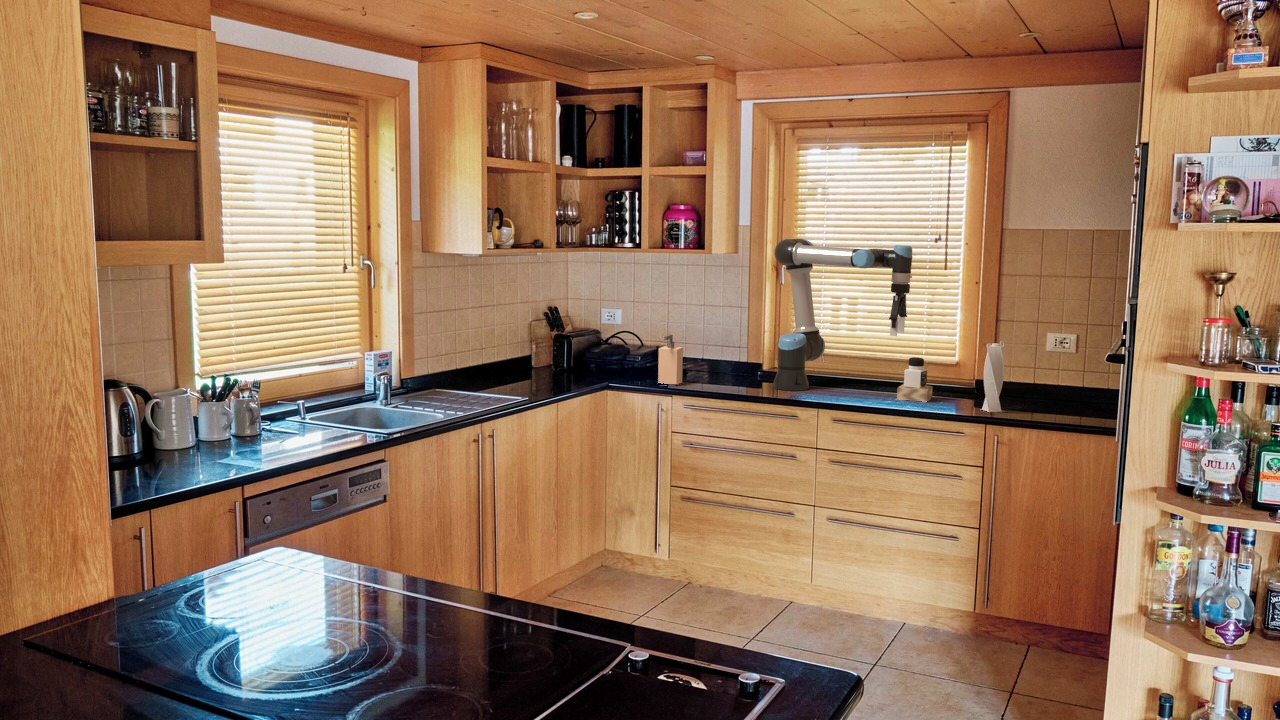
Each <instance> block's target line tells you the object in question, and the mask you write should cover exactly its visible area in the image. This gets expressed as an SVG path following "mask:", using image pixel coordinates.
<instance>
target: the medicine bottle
mask: <svg viewBox="0 0 1280 720" xmlns="http://www.w3.org/2000/svg"><path fill="white" fill-rule="evenodd" d="M903 374H904V375H903V377H904V378H903V379H904V380H903V384H904V387H911V388H923V387H926V386H927V382H928V369H926V368H925V359H924V358H922V357H919V356H918V357H916V356H915V357H909V358H908V368H906V369H904V373H903Z"/></svg>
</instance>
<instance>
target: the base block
mask: <svg viewBox="0 0 1280 720" xmlns="http://www.w3.org/2000/svg"><path fill="white" fill-rule="evenodd" d="M933 388H934V387H933V386H932V385H926V387H923V388H911V387H904V383H902V384H901V385H899V386H898V387H897V388H896V401H902V400H910V401H909V402H914V401H922V402H921V403H926V402H927V401H928V402H930V401H931V398H932V399H933ZM928 402H927V403H928Z"/></svg>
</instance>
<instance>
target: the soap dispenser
mask: <svg viewBox="0 0 1280 720" xmlns="http://www.w3.org/2000/svg"><path fill="white" fill-rule="evenodd" d="M673 338H674V337H673V334H667V335H664V336H663V340H664V341H667V345H666V346H665V345H664V346H660V347H658V367H657V368H658V371H657V372H658V373H657V375H658V377H657V378H658V379H657V380H658V381H657V382H658V383H661V384H663V383H664V384H679V383H682V384H683V358H684V357H683V356H684V355H683V353H684V350H683V349H684V347H682V346H675V341H674V340H673ZM658 383H657V384H658Z"/></svg>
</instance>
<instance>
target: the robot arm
mask: <svg viewBox="0 0 1280 720" xmlns="http://www.w3.org/2000/svg"><path fill="white" fill-rule="evenodd" d="M774 257H775V260H776V261H777V262H778V263H779V264H780V265H782V266H785V270H786V273H788V274H789V275H790V285H791V286H790V287H791V294H792V304H793V313H794V314H793V315H794V324H795V329H794V330H793V331H792V333H791V332H790V333H785V334H782V335H780V337H779V339H778V343H777V344H778V345H777V348H778V349H777V351H778V353H777V355H778V357H777V372H776V375H775V378H774V380H773V384H772V386H773V388H774V390H775V389H776V390H781V391H789V392H790V391H794V392H795V391H796V392H798V391H805V390H806V391H807V390H809V384H810V383H809V381H808V377H807V374H806V363H807V362H812V361H815V360H818V359H819V358H820V357H822V355H823V354H824V352H825V349H826V343H825V340H824V338H823V337H822V335H820V329H819V328H818V327H817V326H816V322H815V311H814V302H813V291H812V283H811V271H812V270H813V268H814V265H823V266H824V265H825V266H836V267H837V266H839V267H848V268H849V267H850V268H851V267H852V268H858V269H870V268H872V269H873V268H885V269H886V268H887V269H888V268H889V269H891V270H892V272H891V282H892V283H891V285H890V292H891V293H895V295H893V296H892V297H893V298H892V304H891V309H890V315H889V317H888V320H890V326H889V327H890V328H889V329H890V330H889V336H891V337H892V336H893V337H897V336H898V333H901V334H905V324H906V323H905V321H906V318H908V313H907V294H910V290H911V289H910V288H911V284H910V283H911V279H912V278H913V275H912V266H913V265H912V264H913V248H912V246H910V245H901V244H900V245H899V244H898V245H896V244H895V245H894V246H893V249H883V248H868V249H865V248H862V249H861V248H850V247H849V248H848V247H838V246H837V247H835V246H821V245H814V244H813V243H812V242H811V241H809V240H806V239H804V238H788V239H787V238H786V239H785V238H784V239H782V240H781V241H779V242H778V243H777V244H776V246H775V248H774Z"/></svg>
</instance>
